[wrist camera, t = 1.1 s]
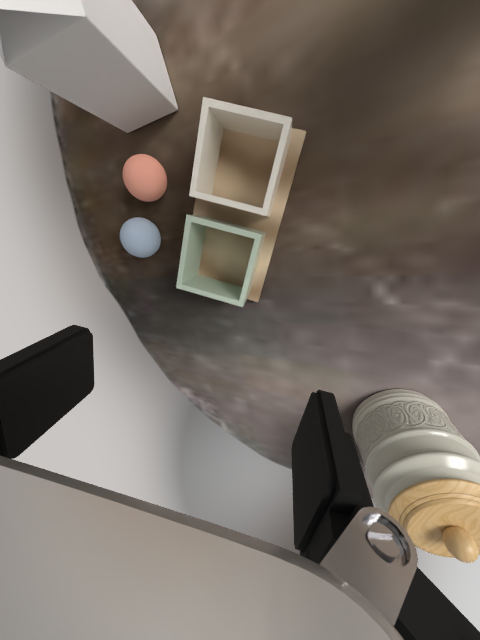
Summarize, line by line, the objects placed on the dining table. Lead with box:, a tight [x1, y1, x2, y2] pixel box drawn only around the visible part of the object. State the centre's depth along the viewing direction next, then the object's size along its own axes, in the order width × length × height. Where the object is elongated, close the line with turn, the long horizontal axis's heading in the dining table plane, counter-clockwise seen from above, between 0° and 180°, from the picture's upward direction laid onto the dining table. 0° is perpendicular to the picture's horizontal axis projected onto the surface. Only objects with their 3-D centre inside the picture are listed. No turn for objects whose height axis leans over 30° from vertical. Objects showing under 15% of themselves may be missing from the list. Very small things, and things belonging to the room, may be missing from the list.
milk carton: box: [0, 0, 178, 133], centre depth 21 cm, size 7×7×19 cm
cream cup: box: [189, 97, 292, 217], centre depth 27 cm, size 8×8×6 cm
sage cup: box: [176, 215, 266, 307], centre depth 31 cm, size 8×8×6 cm
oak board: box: [193, 128, 306, 302], centre depth 32 cm, size 20×11×1 cm, turn 166°
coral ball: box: [123, 154, 167, 202], centre depth 31 cm, size 5×5×5 cm
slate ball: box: [120, 217, 161, 258], centre depth 33 cm, size 5×5×5 cm
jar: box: [352, 389, 480, 563], centre depth 32 cm, size 13×13×18 cm
